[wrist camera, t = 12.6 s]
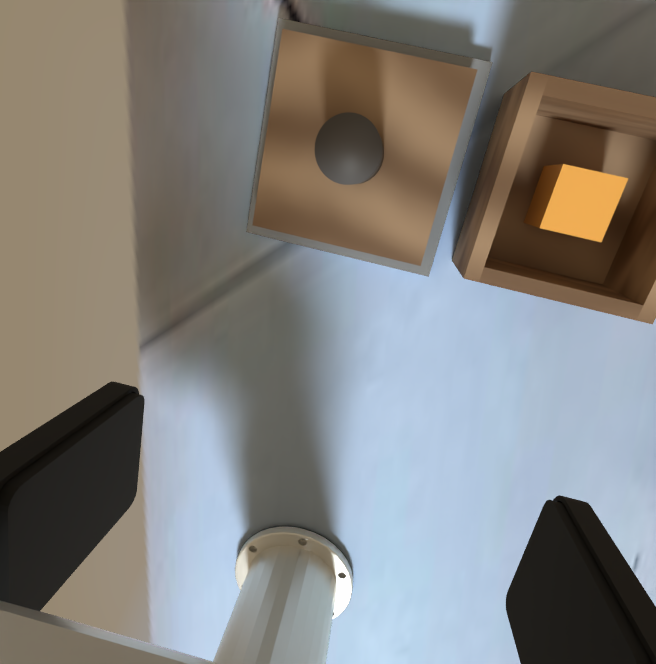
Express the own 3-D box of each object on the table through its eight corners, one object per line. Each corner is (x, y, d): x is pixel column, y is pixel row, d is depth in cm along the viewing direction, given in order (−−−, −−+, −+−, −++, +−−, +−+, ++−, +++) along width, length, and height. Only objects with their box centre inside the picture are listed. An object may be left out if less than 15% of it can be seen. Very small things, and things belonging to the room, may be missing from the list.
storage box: (604, 297, 35) (652, 324, 28) (451, 260, 36) (463, 278, 29) (678, 131, 31) (754, 117, 24) (503, 94, 32) (531, 71, 25)
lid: (419, 261, 35) (424, 280, 29) (259, 223, 36) (228, 232, 29) (472, 76, 31) (492, 47, 24) (289, 37, 32) (260, 0, 25)
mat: (427, 274, 36) (428, 276, 35) (250, 230, 37) (246, 232, 36) (489, 65, 31) (492, 62, 30) (281, 22, 32) (278, 17, 31)
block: (578, 235, 33) (601, 242, 29) (523, 222, 33) (539, 228, 29) (601, 178, 31) (628, 178, 28) (544, 165, 32) (563, 164, 28)
